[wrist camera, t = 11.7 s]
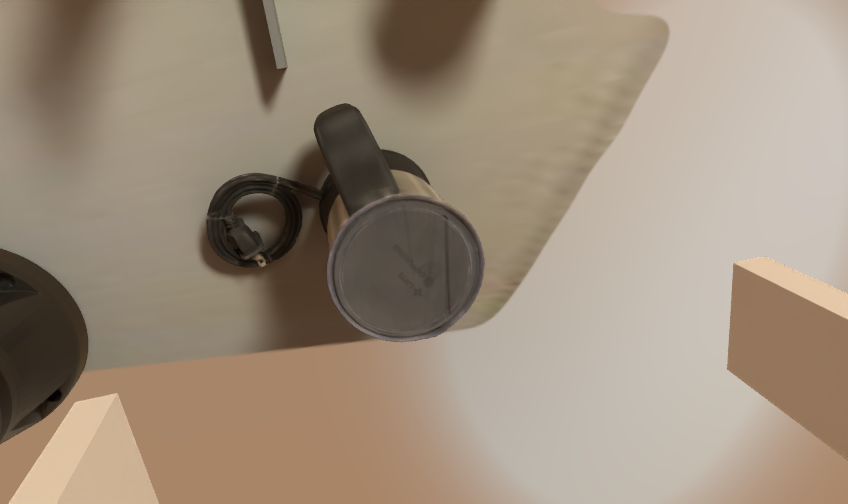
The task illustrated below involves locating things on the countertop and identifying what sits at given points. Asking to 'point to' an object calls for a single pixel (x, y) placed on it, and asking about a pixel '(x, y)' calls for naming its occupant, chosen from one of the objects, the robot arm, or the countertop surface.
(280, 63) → the frame
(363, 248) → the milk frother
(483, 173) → the countertop surface
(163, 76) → the countertop surface
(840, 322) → the robot arm
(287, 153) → the countertop surface
